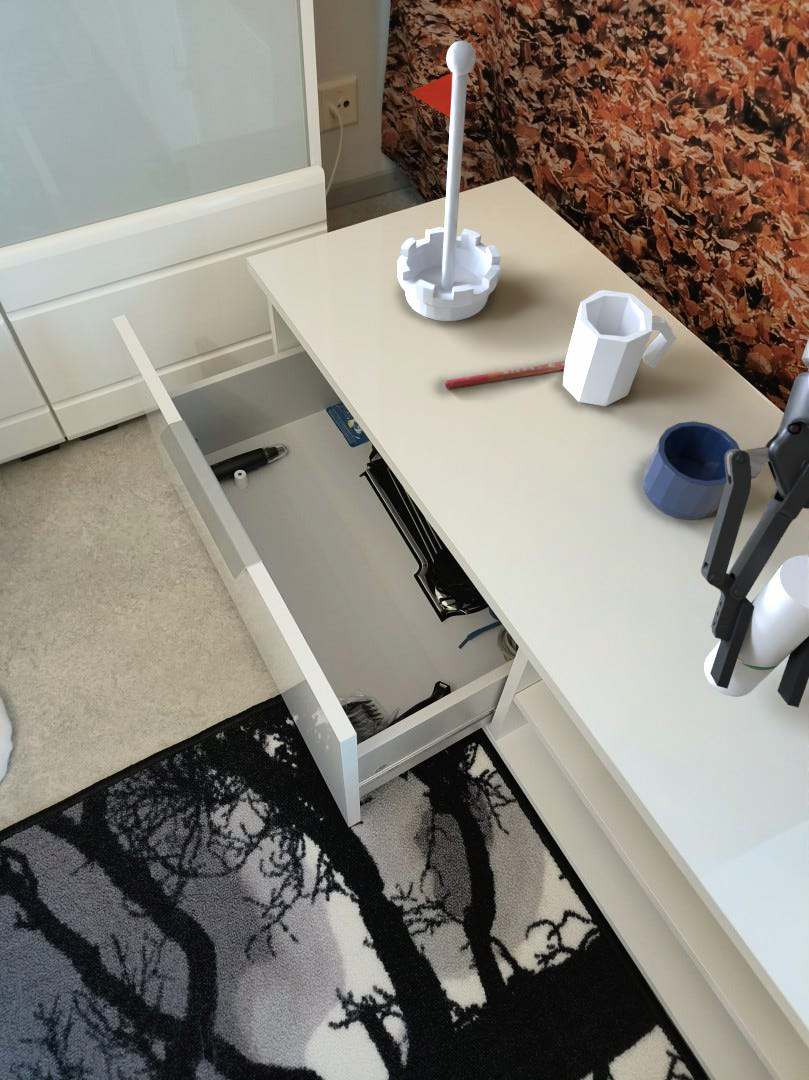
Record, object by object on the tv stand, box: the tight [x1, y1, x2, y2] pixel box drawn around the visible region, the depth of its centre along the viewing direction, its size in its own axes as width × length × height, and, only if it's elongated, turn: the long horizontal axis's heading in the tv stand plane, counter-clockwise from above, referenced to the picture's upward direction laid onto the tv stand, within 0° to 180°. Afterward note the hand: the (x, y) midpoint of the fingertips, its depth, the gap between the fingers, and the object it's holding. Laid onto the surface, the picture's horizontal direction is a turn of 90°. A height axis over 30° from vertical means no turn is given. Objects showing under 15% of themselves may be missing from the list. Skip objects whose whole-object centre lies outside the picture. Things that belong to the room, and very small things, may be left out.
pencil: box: [444, 360, 566, 390], centre depth 89 cm, size 19×1×1 cm, turn 103°
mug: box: [562, 289, 677, 407], centre depth 85 cm, size 12×9×10 cm
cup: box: [642, 420, 741, 520], centre depth 78 cm, size 8×8×6 cm
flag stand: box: [396, 40, 501, 322], centre depth 85 cm, size 13×13×30 cm
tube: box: [703, 554, 809, 698], centre depth 56 cm, size 4×4×15 cm
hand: (753, 689), depth 56 cm, fingers closed on tube, 4 cm apart
